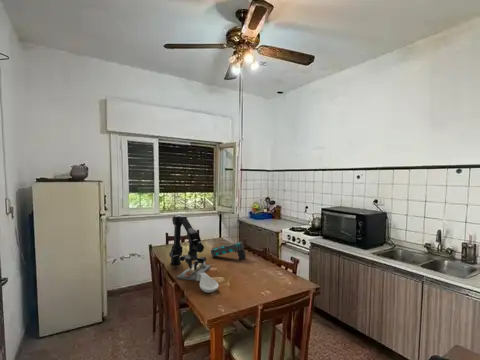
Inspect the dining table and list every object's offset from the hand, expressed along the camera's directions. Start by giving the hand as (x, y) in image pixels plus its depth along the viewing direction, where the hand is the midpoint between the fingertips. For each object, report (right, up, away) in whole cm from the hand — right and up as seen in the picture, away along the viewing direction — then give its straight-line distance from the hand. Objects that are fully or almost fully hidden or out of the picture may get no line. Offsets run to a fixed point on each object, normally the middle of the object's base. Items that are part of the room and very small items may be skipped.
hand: (192, 270), depth 190 cm
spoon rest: (+12, -4, -21) cm, 25 cm away
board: (+1, -2, +3) cm, 4 cm away
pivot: (+4, -1, +15) cm, 15 cm away
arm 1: (0, -1, +2) cm, 2 cm away
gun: (+24, -2, +38) cm, 45 cm away
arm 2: (+1, -1, +1) cm, 2 cm away
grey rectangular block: (+4, -1, +14) cm, 14 cm away
